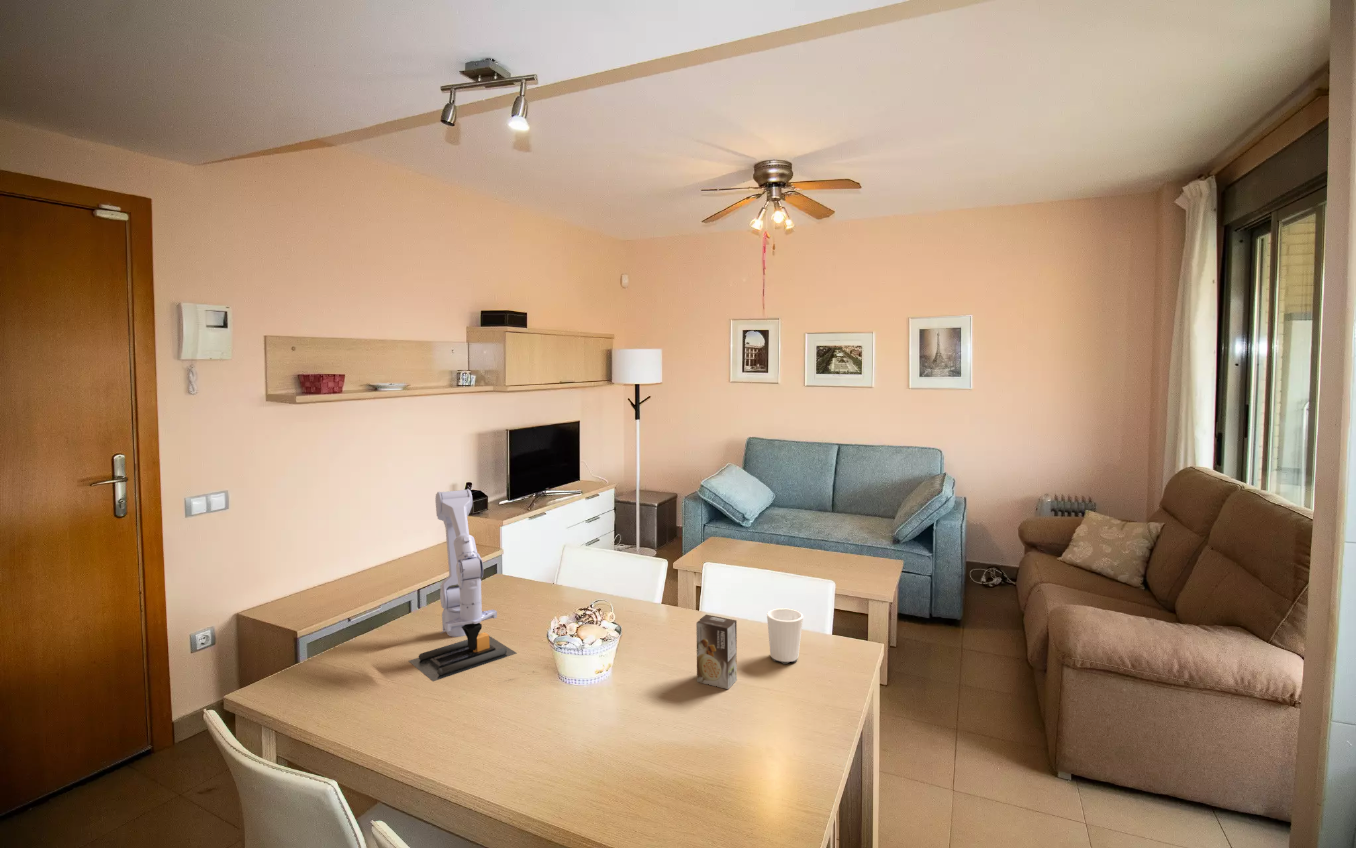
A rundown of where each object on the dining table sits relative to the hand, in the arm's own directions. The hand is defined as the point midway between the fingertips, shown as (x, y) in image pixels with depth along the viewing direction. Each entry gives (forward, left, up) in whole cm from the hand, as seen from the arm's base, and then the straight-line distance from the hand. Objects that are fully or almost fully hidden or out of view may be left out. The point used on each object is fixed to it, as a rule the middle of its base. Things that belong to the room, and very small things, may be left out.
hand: (472, 649), depth 187 cm
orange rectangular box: (0, +3, -2) cm, 3 cm away
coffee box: (+55, +40, -3) cm, 68 cm away
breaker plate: (0, -3, -3) cm, 4 cm away
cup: (+59, +63, -3) cm, 87 cm away
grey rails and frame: (0, -3, -2) cm, 3 cm away
